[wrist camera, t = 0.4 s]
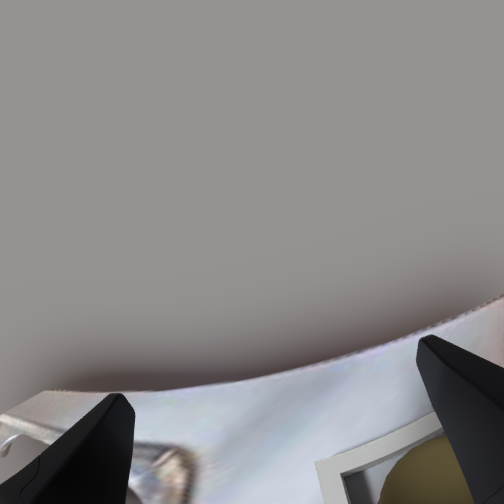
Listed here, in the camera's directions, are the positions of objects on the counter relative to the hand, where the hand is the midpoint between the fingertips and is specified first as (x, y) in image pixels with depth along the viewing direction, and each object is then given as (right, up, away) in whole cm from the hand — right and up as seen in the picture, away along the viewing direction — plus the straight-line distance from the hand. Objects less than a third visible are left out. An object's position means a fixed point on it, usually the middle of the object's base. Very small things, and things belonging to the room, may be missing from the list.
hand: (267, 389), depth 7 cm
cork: (+11, -13, +4) cm, 18 cm away
